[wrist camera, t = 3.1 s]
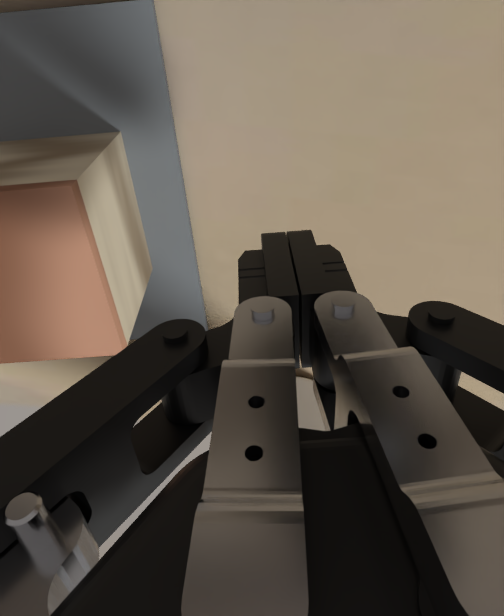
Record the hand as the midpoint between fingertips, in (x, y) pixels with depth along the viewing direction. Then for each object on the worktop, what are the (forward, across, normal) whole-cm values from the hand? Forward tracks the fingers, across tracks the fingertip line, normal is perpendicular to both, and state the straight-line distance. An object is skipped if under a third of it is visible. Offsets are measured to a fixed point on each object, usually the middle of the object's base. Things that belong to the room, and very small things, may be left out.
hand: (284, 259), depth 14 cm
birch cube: (+6, +9, 0) cm, 10 cm away
